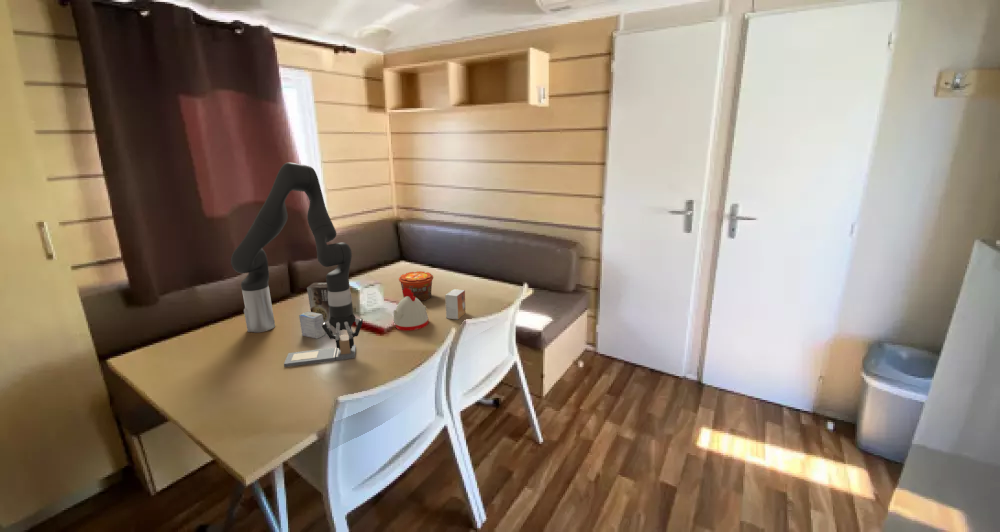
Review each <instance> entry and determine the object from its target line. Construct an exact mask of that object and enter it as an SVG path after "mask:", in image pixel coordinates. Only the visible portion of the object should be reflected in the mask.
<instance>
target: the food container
mask: <svg viewBox="0 0 1000 532" xmlns="http://www.w3.org/2000/svg"><path fill="white" fill-rule="evenodd" d="M433 279H434V275H433V274H431V272H428V271H427V272H425V271H418V270H417V271H409V272H406V273H405V274H404V273H403V274H401V275H400V277H399V278H398V281H399V282H400V286H401V290H404V288H406V289H408V288H409V289H411V293H413V296H416V298H417V299H419V300H420V301H421V302H424V301H427V300H429V299H430V298H432V287H433V285H432V284H433ZM402 296H403V298H404V295H403V294H402Z"/></svg>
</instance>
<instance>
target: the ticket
mask: <svg viewBox="0 0 1000 532" xmlns="http://www.w3.org/2000/svg"><path fill="white" fill-rule="evenodd" d="M337 349H338V348H337V347H336V346H335V347H327V348H320V349H318V348H317V349H313V350H312V349H310V350H303V351H297V352H296V351H294V352H288V354H287V356H286V358H285V359H284V360H285V361H284V362H283V367H284V368H289V367H295V366H304V365H313V364H319V363H320V364H321V363H328V362H335V361H337V360H336V354H337Z"/></svg>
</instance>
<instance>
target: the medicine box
mask: <svg viewBox="0 0 1000 532" xmlns="http://www.w3.org/2000/svg"><path fill="white" fill-rule="evenodd" d="M298 316H299V318H298V319H299V323H300V328H301V336H303V337H308V338H313V339H316V340H318V339H320V338H321V337H323V336H325V335H326V332H325V331H324V329H323V328H322V325H323V322H324V321H323V315H322V314H319V313H314V312H311V311H306V312H303V313H301V314H300V315H298Z"/></svg>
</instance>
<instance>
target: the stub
mask: <svg viewBox="0 0 1000 532" xmlns="http://www.w3.org/2000/svg"><path fill="white" fill-rule="evenodd" d="M339 337H340V340H339V343H340V350H339V348H337V354H336V360H335V361H342V360H350V359H355V358H356V352H357V351H356V349H357V346H356V344H354V346H353V347H352V348H350V344H349V335H348V333H347V334H340V336H339Z"/></svg>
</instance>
